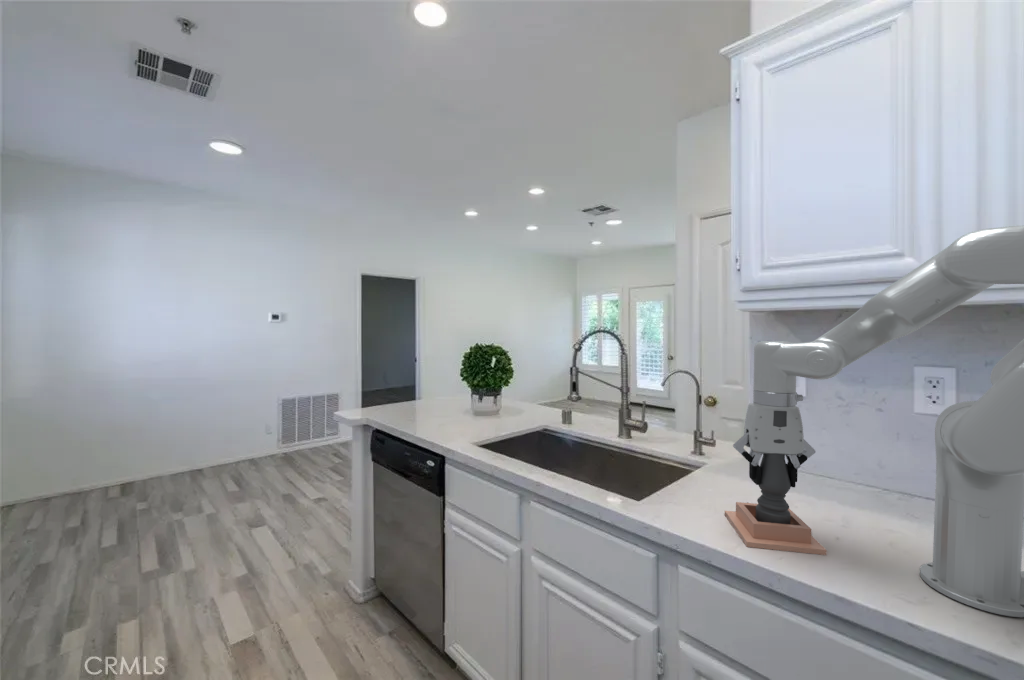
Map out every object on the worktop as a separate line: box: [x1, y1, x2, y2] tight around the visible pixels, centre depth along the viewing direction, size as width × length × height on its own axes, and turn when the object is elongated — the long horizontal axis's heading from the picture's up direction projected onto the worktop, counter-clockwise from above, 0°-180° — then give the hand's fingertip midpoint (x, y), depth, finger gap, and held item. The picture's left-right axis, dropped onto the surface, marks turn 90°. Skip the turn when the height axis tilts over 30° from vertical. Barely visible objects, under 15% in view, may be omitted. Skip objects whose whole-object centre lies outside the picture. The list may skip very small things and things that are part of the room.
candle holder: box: [756, 411, 792, 524], centre depth 85 cm, size 6×6×25 cm
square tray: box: [724, 501, 828, 556], centre depth 85 cm, size 14×14×4 cm
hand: (772, 482), depth 85 cm, fingers closed on candle holder, 5 cm apart
